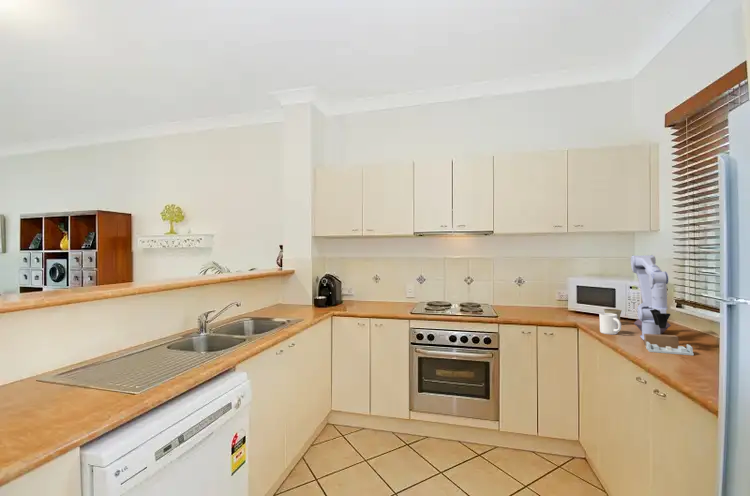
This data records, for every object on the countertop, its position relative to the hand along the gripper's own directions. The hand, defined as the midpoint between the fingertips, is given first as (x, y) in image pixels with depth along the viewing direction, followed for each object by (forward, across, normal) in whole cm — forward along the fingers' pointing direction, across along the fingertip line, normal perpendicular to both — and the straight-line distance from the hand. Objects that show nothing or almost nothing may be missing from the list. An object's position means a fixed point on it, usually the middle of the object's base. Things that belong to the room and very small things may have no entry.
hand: (660, 326), depth 167 cm
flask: (+10, -34, +3) cm, 36 cm away
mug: (+10, -22, -17) cm, 30 cm away
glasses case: (+10, 0, 0) cm, 10 cm away
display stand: (+9, +8, +1) cm, 13 cm away
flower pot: (+10, -52, -13) cm, 55 cm away
